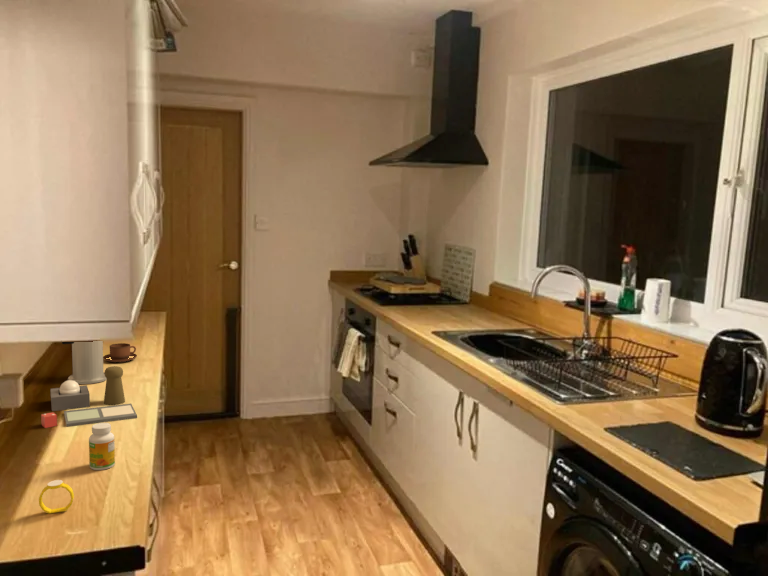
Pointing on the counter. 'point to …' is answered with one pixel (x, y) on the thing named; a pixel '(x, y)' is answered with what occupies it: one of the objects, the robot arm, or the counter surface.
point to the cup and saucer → (120, 353)
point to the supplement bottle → (101, 447)
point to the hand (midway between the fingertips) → (68, 343)
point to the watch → (55, 485)
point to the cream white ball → (69, 387)
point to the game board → (99, 414)
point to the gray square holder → (70, 399)
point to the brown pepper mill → (114, 386)
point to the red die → (49, 420)
